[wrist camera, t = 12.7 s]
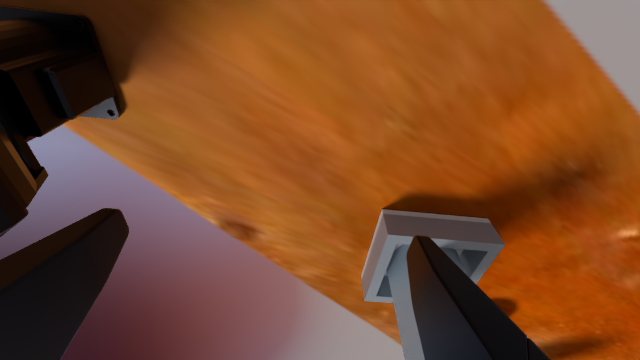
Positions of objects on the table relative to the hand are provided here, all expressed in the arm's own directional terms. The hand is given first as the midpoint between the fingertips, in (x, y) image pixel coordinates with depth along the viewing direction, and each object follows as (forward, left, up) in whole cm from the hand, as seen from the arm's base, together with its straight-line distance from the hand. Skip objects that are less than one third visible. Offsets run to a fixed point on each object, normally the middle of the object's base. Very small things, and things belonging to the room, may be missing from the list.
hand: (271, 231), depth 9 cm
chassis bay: (+13, -15, -13) cm, 24 cm away
